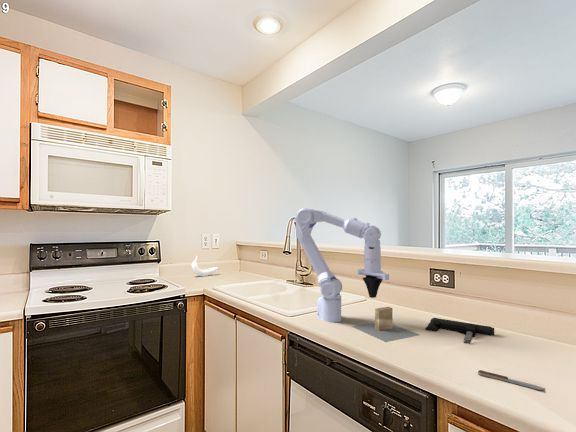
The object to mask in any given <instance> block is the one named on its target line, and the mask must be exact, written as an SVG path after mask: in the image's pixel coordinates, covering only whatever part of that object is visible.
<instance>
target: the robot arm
mask: <svg viewBox="0 0 576 432" xmlns="http://www.w3.org/2000/svg"><path fill="white" fill-rule="evenodd" d="M294 221H295V237H296V239H297V240H298V242H299V244H300V245H301V247H302V249H303V251H304V253H305V255H306V257H307V259H308V260H309V263H310V264H311V267H312V268H313V270H314V272H315V275H317V279H318V280H317V282H318V283H317V284H318V285H319V286H320V287H319V288H320V293H321V296H319V298H318V299H317V303H316V305H317V306H316V317H315V318H314V319H316V320H320V319H321V320H322V321H323V322H326V323H339V322H341V321H342V295H341V294H340V293H341V292H342V290H343V284H342V281H341V280H340V279H339V278H337V276H336V275H335V273H334V272H332V271H331V270H330V267H328V264H327V263H326V261H325V259H324V257H323V255H322V254H321V251H320V249H319V248H318V246H317V244H316V242H315V240H314V239H313V237H312V235H311V234H312V231H313V228H314V227H315V225H316V224H317V223H322V222H325V223H328V224H330V225H333V226H336V227H340V228H342V229H343V231H344V232H345V234H348V235H351V236H353V237H356V238H359V239H363V240H364V246H363V247H364V249H363V250H364V251H363V252H364V253H363V254H364V257H363V258H364V259H363V260H364V262H363V263H364V269H363V268H358V269H357V275H360V276H365V277H362V280H363V281H364V282H363V283H364V284H365V286H366V289H367V293H368V297H369V298H371V299H373V298H377V297H378V296H377V295H378V291H379V289H380V285H381V284H382V282H383V281H387V280H390V274H389V273H386V272H384V270H382V268H381V267H382V266H381V265H382V264H381V263H382V262H381V261H382V260H381V256H382V255H381V254H382V253H381V251H382V250H381V240H380V238H381V237H382V233H381V232H382V231H381V229H380V228H379V227H377V226H375V225H370V223H369V222H367V223H366V222H363V221H361V220H358V218H357V217H353V218H351V217H350V218H347V219H344V218H342V217H339V216H336V215H334V214H331V213H328V212H326V211H323V210H319V209H318V210H317V209H315V208H306V207H303V208H300V209H299V210H298V211H297V213H296V216H295V219H294Z"/></svg>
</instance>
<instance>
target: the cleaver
mask: <svg viewBox="0 0 576 432" xmlns="http://www.w3.org/2000/svg"><path fill="white" fill-rule="evenodd" d="M477 374H478V376H480V377H482V378H483V377H484V378H487V379H491V380H495V381H499V382H504V383H511V384H515V385H518V386H523V387H525V388H531V389H532V390H533V389H534V390H537V391H543V390H545V389H546V388H545V387H542V386H538V385H537V384H531V383H527V382H524V381H521V380H518V379H517V380H516V379H512V378H509V377H508V376H505V375H502V374H498V373H494V372H489V371H485V370H483V369H482V370H480V369H479V370H478V371H477Z"/></svg>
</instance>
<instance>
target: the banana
mask: <svg viewBox="0 0 576 432" xmlns="http://www.w3.org/2000/svg"><path fill="white" fill-rule="evenodd" d="M198 259H199V257H198V255H195V259H194V260H193V261H192V263H191V265H190V268H191V270H192V271H193V273H194V274H195V275H196V276H199V277H207V276H211V275H212V274H215V273H216V272H217V271H219V270H218V269H219V267H218V266H214V267H210V268H206V269H201V268H200V266H198V263H197V262H198V261H197V260H198Z"/></svg>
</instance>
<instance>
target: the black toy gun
mask: <svg viewBox="0 0 576 432" xmlns="http://www.w3.org/2000/svg"><path fill="white" fill-rule="evenodd" d="M425 330H426V331H429V332H438V331H439V330H443V331H450V332H456V333H460V334H461V335H464V338H463V344H468V345H470V344H471V342H472V338H476V336H477V335H478V334H479V335H484V336H489V337H490V336H491V335H492V336H493V337H494V336H495V327H492V326H490V325H484V324H478V323H476V324H475V323H470V322H466V321H465V322H463V321H459V320H458V321H457V320H451V319H445V318H439V317H432V318H430V321H429V323H428V324H427V326H426V327H425Z"/></svg>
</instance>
